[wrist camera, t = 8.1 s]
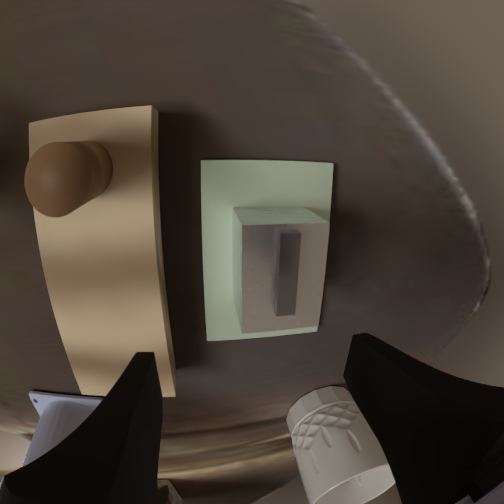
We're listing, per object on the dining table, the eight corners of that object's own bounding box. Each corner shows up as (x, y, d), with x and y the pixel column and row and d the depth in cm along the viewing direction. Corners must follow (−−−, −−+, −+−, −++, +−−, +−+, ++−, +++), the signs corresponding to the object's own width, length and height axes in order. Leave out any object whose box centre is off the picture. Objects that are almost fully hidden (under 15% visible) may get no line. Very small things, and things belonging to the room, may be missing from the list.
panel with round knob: (176, 369, 22) (175, 441, 16) (90, 368, 21) (69, 435, 15) (158, 111, 16) (136, 93, 10) (51, 124, 15) (-12, 121, 9)
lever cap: (297, 294, 21) (322, 331, 17) (232, 299, 20) (243, 339, 16) (303, 206, 19) (334, 226, 15) (232, 207, 18) (244, 228, 14)
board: (313, 327, 23) (316, 331, 23) (206, 336, 22) (207, 341, 21) (329, 162, 19) (333, 163, 19) (200, 160, 18) (200, 160, 17)
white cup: (266, 433, 27) (292, 519, 17) (303, 375, 25) (348, 469, 15) (332, 435, 29) (367, 506, 20) (371, 383, 27) (422, 457, 18)
